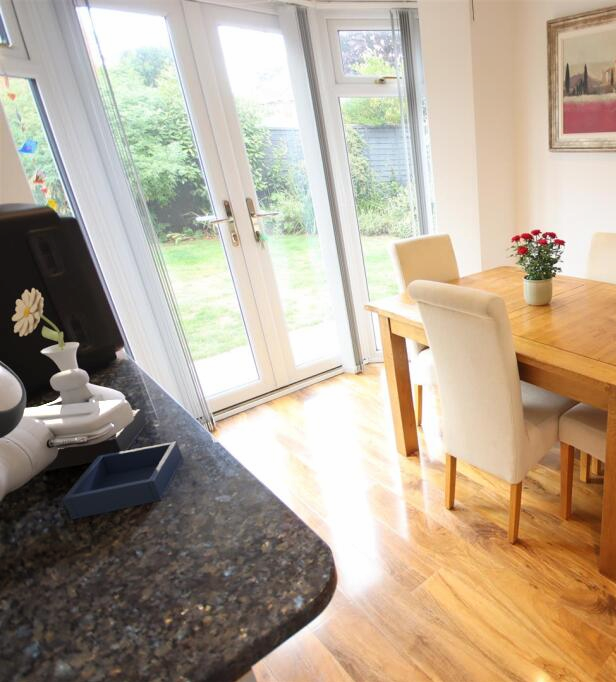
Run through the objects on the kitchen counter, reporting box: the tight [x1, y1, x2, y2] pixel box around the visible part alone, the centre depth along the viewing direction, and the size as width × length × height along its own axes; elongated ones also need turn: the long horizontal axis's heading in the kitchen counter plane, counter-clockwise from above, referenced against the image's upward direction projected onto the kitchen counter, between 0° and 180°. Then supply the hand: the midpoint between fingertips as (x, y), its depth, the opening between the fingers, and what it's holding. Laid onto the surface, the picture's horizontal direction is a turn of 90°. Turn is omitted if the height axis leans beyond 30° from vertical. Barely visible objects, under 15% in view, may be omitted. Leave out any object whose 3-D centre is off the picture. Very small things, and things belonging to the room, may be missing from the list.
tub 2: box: [61, 441, 184, 520], centre depth 65 cm, size 10×10×3 cm
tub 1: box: [43, 408, 147, 472], centre depth 75 cm, size 10×10×3 cm
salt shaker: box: [49, 368, 114, 438], centre depth 73 cm, size 6×6×13 cm
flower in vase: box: [11, 287, 126, 401], centre depth 80 cm, size 13×11×25 cm
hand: (83, 399), depth 73 cm, fingers closed on salt shaker, 3 cm apart
